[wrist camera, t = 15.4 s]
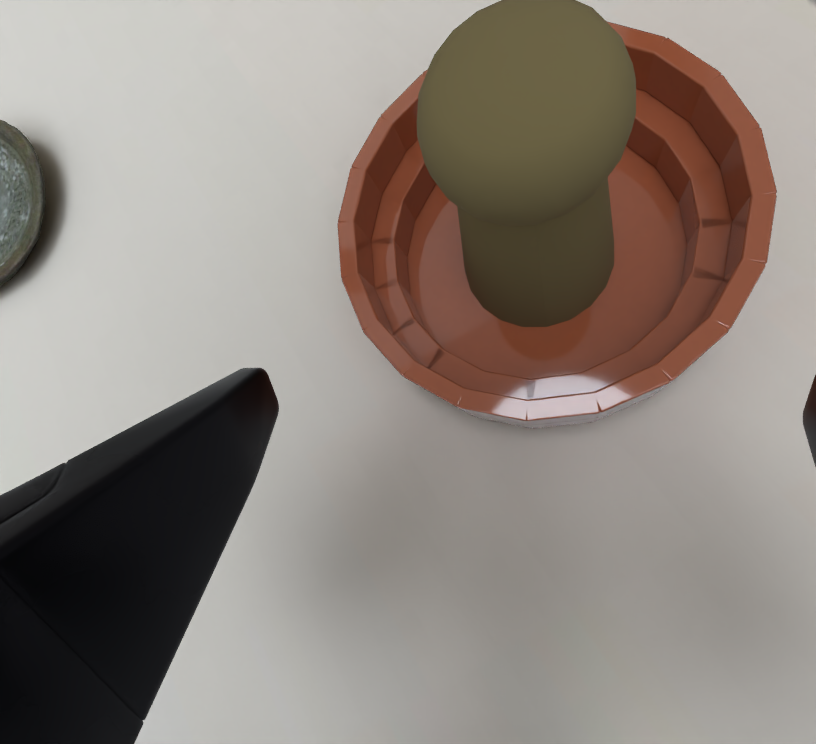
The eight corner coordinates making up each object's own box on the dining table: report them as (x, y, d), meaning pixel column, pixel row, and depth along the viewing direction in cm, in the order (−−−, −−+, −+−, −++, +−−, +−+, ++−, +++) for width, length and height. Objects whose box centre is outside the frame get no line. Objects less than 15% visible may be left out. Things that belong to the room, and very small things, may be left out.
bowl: (616, 496, 20) (631, 506, 16) (322, 330, 25) (272, 302, 20) (800, 168, 20) (865, 88, 16) (473, 63, 25) (455, -20, 20)
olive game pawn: (479, 183, 23) (413, -50, 12) (627, 193, 21) (693, -70, 11) (451, 316, 22) (356, 188, 12) (600, 338, 20) (644, 209, 10)
